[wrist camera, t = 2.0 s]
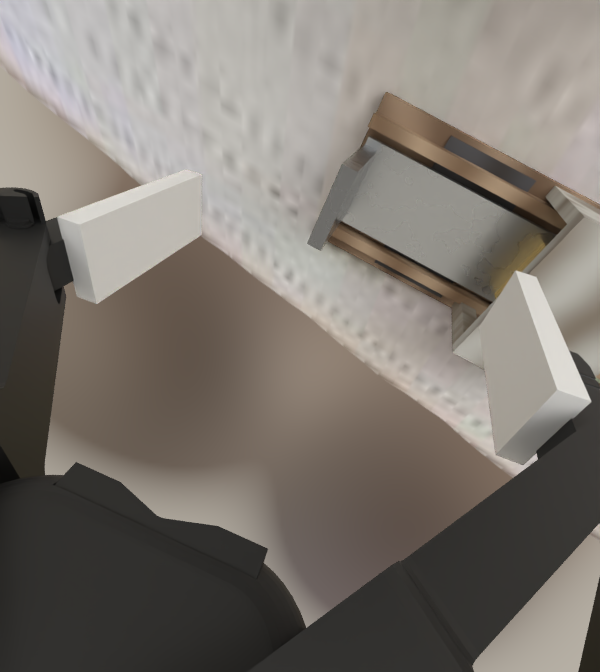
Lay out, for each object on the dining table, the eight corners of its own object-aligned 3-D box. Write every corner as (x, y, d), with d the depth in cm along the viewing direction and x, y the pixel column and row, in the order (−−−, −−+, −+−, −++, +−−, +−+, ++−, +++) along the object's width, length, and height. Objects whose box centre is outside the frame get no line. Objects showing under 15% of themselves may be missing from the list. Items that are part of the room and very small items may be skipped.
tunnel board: (322, 233, 40) (293, 269, 32) (387, 91, 31) (368, 97, 23) (660, 414, 39) (710, 493, 32) (827, 325, 30) (950, 406, 23)
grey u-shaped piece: (333, 213, 36) (304, 249, 29) (370, 135, 31) (346, 155, 24) (594, 353, 36) (633, 427, 28) (672, 296, 31) (744, 367, 24)
